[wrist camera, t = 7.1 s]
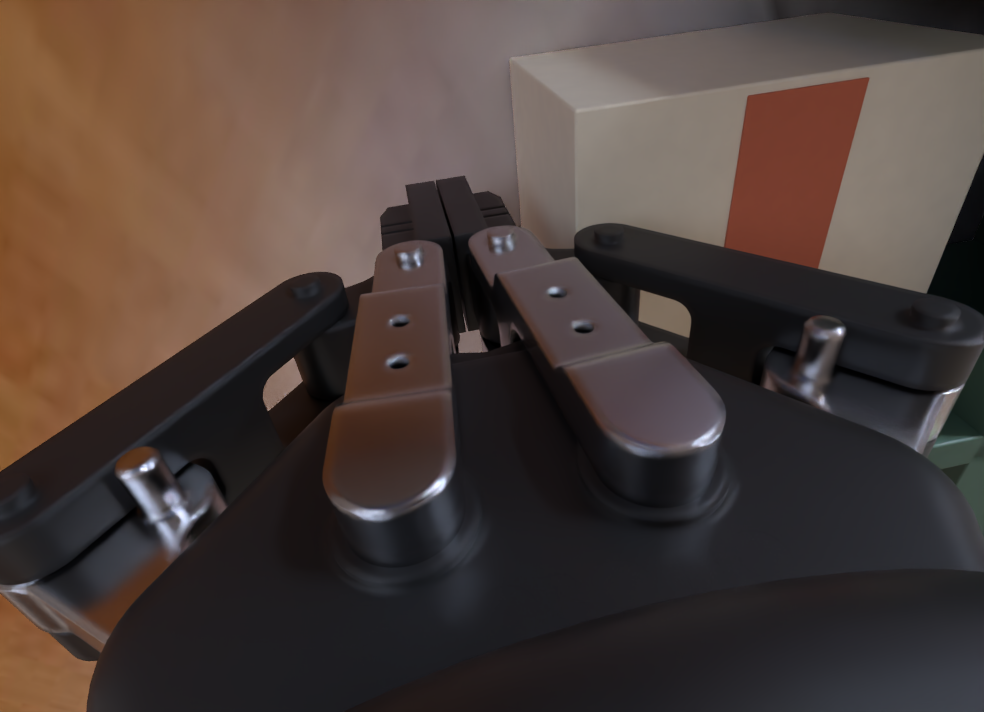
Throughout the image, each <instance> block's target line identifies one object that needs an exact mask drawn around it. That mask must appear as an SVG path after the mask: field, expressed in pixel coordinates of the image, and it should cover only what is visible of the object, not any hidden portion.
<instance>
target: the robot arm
mask: <svg viewBox="0 0 984 712" xmlns="http://www.w3.org/2000/svg"><path fill="white" fill-rule="evenodd" d="M405 186H406V191H407V196H408V202H409V204H408V205H402V206H395V207H389V208H387V210H386V211H385V212H384V213H383V214H382V215H381V217H380V222H381V234H382V235H381V236H382V250H383V251H382V252H380V253H379V254H378V256H377V258H376V262H375V271H374V276H372V277H371V278H369V279H367V280H365V281H363V282H361V283H358V284H356V285H353V286H350V287H347V288H344V285H343V281H342V279H341V277H339V276H338V275H336V274H333V273H329V272H313V273H307V274H302V275H299V276H296V277H293V278H291V279H288V280H286V281H284V282H283V283H281V284H280V285H278V286H277V287H275V288H274V289H272V290H271V291H269V292H268V293H266V294H265V295H263V296H262V297H260V298H259V299H257V300H256V301H254V302H253V303H251V304H250V305H248V306H247V307H245V308H244V309H242V310H241V311H239V312H238V313H236V314H235V315H233V316H232V317H230V318H229V319H227V320H226V321H224V322H223V323H221V324H220V325H218V326H217V327H215V328H214V329H212V330H211V331H209V332H208V333H206V334H205V335H204V336H202V337H201V338H199V339H198V340H196V341H195V342H193V343H192V344H190V345H189V346H187V347H186V348H184V349H183V350H181V351H180V352H178V353H177V354H175V355H174V356H172V357H171V358H169V359H168V360H166V361H165V362H163V363H162V364H160V365H159V366H157V367H156V368H154V369H153V370H151V371H150V372H148V373H147V374H145V375H144V376H142V377H141V378H139V379H138V380H136V381H135V382H133V383H132V384H130V385H129V386H127V387H126V388H124V389H123V390H121V391H120V392H118V393H117V394H115V395H114V396H112V397H111V398H110V399H108V400H107V401H105V402H104V403H102V404H101V405H99V406H98V407H96V408H95V409H93V410H92V411H90V412H89V413H87V414H86V415H84V416H83V417H81V418H80V419H78V420H77V421H75V422H74V423H72V424H71V425H69V426H68V427H66V428H65V429H63V430H62V431H60V432H59V433H57V434H56V435H54V436H53V437H51V438H50V439H48V440H47V441H45V442H44V443H42V444H41V445H39V446H38V447H36V448H35V449H33V450H32V451H30V452H29V453H27V454H26V455H24V456H23V457H21V458H20V459H19V460H17V461H16V462H14V463H13V464H11V465H10V466H8V467H7V468H5V469H4V470H2V471H1V472H0V594H1V595H2V596H3V597H5V598H6V599H7V600H8V601H9V602H10V603H11V604H12V605H13V606H14V607H16V608H17V609H18V610H19V611H20V612H21V613H22V614H23V615H24V616H25V617H27V618H28V619H29V620H30V621H31V622H32V623H33V624H34V625H35V626H36V627H38V628H39V629H40V630H42V631H45V632H48V633H49V634H51V635H52V636H53V637H54V638H55V639H56V640H57V641H58V642H59V643H60V644H61V645H63V646H64V647H65V648H66V649H67V650H68V651H69V652H70V653H71V654H72V655H74V656H75V657H76V658H78V659H81V660H85V661H97V664H96V667H95V670H94V673H93V676H92V679H91V683H90V688H89V694H88V700H87V712H984V537H983V535H982V532H981V529H980V527H979V524H978V521H977V519H976V516H975V513H974V511H973V509H972V508H971V506H970V504H969V503H968V501H967V500H966V498H965V496H964V495H963V493H962V492H961V491H960V490H959V489H958V487H957V486H956V485H955V484H954V482H953V481H952V480H951V479H950V478H949V477H948V476H947V475H946V474H945V473H944V472H943V471H942V470H941V469H940V468H939V467H938V466H936V465H935V464H934V463H932V462H931V461H930V460H929V459H927V458H928V456H929V454H930V452H931V450H932V448H933V446H934V444H935V442H936V440H937V438H938V436H939V434H940V432H941V430H942V428H943V426H944V424H945V422H946V420H947V418H948V416H949V414H950V413H951V411H952V409H953V407H954V405H955V403H956V401H957V399H958V397H959V395H960V393H961V391H962V389H963V387H964V385H965V383H966V381H967V379H968V377H969V375H970V373H971V371H972V369H973V368H974V366H975V364H976V362H977V360H978V358H979V356H980V354H981V352H982V350H983V348H984V316H983V315H982V314H980V313H979V312H977V311H976V310H974V309H972V308H971V307H969V306H967V305H964V304H962V303H959V302H956V301H954V300H950V299H947V298H943V297H939V296H934V295H930V294H926V293H921V292H917V291H913V290H908V289H904V288H899V287H895V286H891V285H886V284H882V283H878V282H873V281H869V280H865V279H860V278H856V277H852V276H847V275H843V274H839V273H834V272H830V271H826V270H821V269H817V268H812V267H808V266H804V265H799V264H795V263H791V262H786V261H782V260H778V259H773V258H769V257H765V256H760V255H756V254H752V253H747V252H743V251H739V250H734V249H730V248H725V247H721V246H717V245H712V244H708V243H704V242H699V241H695V240H691V239H686V238H682V237H678V236H673V235H669V234H665V233H660V232H656V231H652V230H647V229H643V228H638V227H634V226H630V225H625V224H618V223H603V224H596V225H591V226H588V227H585V228H583V229H581V230H580V231H578V232H577V233H576V234H575V236H574V249H551V248H545V247H544V246H543V245H542V244H541V242H540V241H539V240H538V239H537V238H536V236H535V235H534V234H533V233H532V232H531V231H530V230H528V229H526V228H523V227H519V226H516V224H515V222H514V221H513V219H512V217H511V215H510V214H509V212H508V210H507V208H506V207H505V204H504V203H503V201H502V199H501V197H499V196H497V195H495V194H493V193H491V192H489V191H487V192H481V193H474V194H473V193H472V191H471V189H470V187H469V184H468V182H467V180H466V178H465V176H459V177H453V178H447V179H441V180H436V186H435V182H434V181H429V182H422V183H416V184H410V185H405ZM436 187H437V189H436ZM641 290H642V291H646V292H649V293H653V294H656V295H659V296H663V297H666V298H669V299H673V300H676V301H678V302H680V303H681V304H683V305H684V306H685V307H686V309H687V310H688V312H689V313H690V316H691V327H690V335H689V338H688V337H685V336H682V335H679V334H676V333H673V332H670V331H667V330H664V329H661V328H658V327H655V326H652V325H649V324H646V323H643V322H640V321H639V306H640V291H641ZM463 314H464V316H463ZM464 317H465V321H466V324H467V328H468V331H473V330H480V335H481V343H482V350H483V352H481V353H459V348H458V344H459V341H460V335H459V333H463V332H466V330H465V323H464ZM293 357H294V359H295V361H296V364H297V367H298V369H299V372H300V375H301V377H302V380H303V382H302V383H301V384H299V385H298V386H297V387H296V388H295V389H294V390H293V391H291V392H290V393H289V394H288V395H287V396H286V397H284V398H283V399H282V400H281V401H280V402H279V403H278V404H276V405H275V406H274V407H273V408H272V409H271V410H269V411H267V409H266V406H265V404H264V401H263V389H264V386H265V384H266V382H267V380H268V379H269V377H270V376H271V375H272V374H273V373H275V372H276V371H277V370H278V369H280V368H281V367H282V366H283V365H284V364H286V363H287V362H288V361H289V360H291V359H292V358H293Z"/></svg>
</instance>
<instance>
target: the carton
mask: <svg viewBox="0 0 984 712" xmlns="http://www.w3.org/2000/svg"><path fill="white" fill-rule="evenodd" d="M509 65H510V79H511V93H512V106H513V120H514V134H515V148H516V161H517V175H518V189H519V203H520V216H521V227H523V228H526V229H528V230H530V231H531V232H532V233H533V234H534V235H535V236H536V238H537V239H538V240H539V241H540V242H541V244H542V245H543V246H544V247H545V248H551V249H574V236H575V234H576V233H577V232H578V231H580V230H581V229H583V228H585V227H588V226H591V225H596V224H603V223H618V224H625V225H630V226H634V227H638V228H643V229H647V230H652V231H656V232H660V233H665V234H669V235H673V236H678V237H682V238H686V239H691V240H695V241H699V242H704V243H708V244H712V245H717V246H721V247H725V248H730V249H734V250H739V251H743V252H747V253H752V254H756V255H760V256H765V257H769V258H773V259H778V260H782V261H786V262H791V263H795V264H799V265H804V266H808V267H812V268H817V269H821V270H826V271H830V272H834V273H839V274H843V275H847V276H852V277H856V278H860V279H865V280H869V281H873V282H878V283H882V284H886V285H891V286H895V287H899V288H904V289H908V290H913V291H917V292H921V293H927V291H928V289H929V286H930V284H931V281H932V279H933V276H934V274H935V271H936V269H937V267H938V264H939V262H940V259H941V257H942V254H943V252H944V249H945V247H946V245H947V242H948V240H949V237H950V235H951V232H952V230H953V228H954V225H955V223H956V220H957V218H958V215H959V213H960V210H961V208H962V206H963V203H964V201H965V198H966V196H967V193H968V191H969V188H970V186H971V184H972V181H973V179H974V176H975V174H976V171H977V169H978V167H979V164H980V162H981V159H982V157H983V154H984V35H980V34H973V33H966V32H959V31H952V30H945V29H938V28H931V27H925V26H918V25H911V24H904V23H897V22H890V21H883V20H877V19H870V18H863V17H856V16H849V15H842V14H835V13H829V12H828V13H821V14H814V15H807V16H800V17H793V18H786V19H779V20H772V21H765V22H757V23H750V24H743V25H736V26H729V27H722V28H715V29H708V30H701V31H694V32H687V33H680V34H673V35H666V36H659V37H652V38H645V39H638V40H631V41H624V42H617V43H610V44H603V45H595V46H588V47H581V48H574V49H567V50H560V51H553V52H546V53H539V54H532V55H525V56H518V57H511V58H510V60H509ZM639 321H640V322H643V323H646V324H649V325H652V326H655V327H658V328H661V329H664V330H667V331H670V332H673V333H676V334H679V335H682V336H685V337H688V338H689V335H690V327H691V316H690V313H689V312H688V310H687V309H686V307H685V306H684V305H683V304H681V303H680V302H678V301H676V300H673V299H669V298H666V297H663V296H659V295H656V294H653V293H649V292H646V291H642V290H641V291H640V306H639Z"/></svg>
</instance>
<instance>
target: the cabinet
mask: <svg viewBox="0 0 984 712" xmlns="http://www.w3.org/2000/svg"><path fill="white" fill-rule="evenodd" d="M926 294H930V295H934V296H939V297H943V298H947V299H950V300H954V301H956V302H959V303H962V304H964V305H967V306H969V307H971V308H972V309H974V310H976V311H977V312H979V313H980V314H982V315H983V316H984V214H983V217H982V219H981V221H980V224H979V226H978V228H977V231H976V233H975V235H974V238H973V240H969V241H964V242H958V243H953V244H947V245H946V247H945V249H944V252H943V254H942V257H941V259H940V262H939V264H938V267H937V269H936V271H935V274H934V276H933V279H932V281H931V284H930V286H929V289H928V291H927V293H926ZM927 459H929V460H930V461H931V462H932V463H934V464H935V465H936V466H938V467H939V468H940V469H941V470H942V471H943V472H944V473H945V474H946V475H947V476H948V477H949V478H950V479H951V480H952V481H953V482H954V484H955V485H956V486H957V487H958V489H959V490H960V491H961V492H962V493H963V495H964V496H965V498H966V500H967V501H968V503H969V504H970V506H971V508H972V509H973V511H974V513H975V516H976V519H977V521H978V524H979V527H980V529H981V532H982V535H983V537H984V348H983V350H982V352H981V354H980V356H979V358H978V360H977V362H976V364H975V366H974V368H973V369H972V371H971V373H970V375H969V377H968V379H967V381H966V383H965V385H964V387H963V389H962V391H961V393H960V395H959V397H958V399H957V401H956V403H955V405H954V407H953V409H952V411H951V413H950V414H949V416H948V418H947V420H946V422H945V424H944V426H943V428H942V430H941V432H940V434H939V436H938V438H937V440H936V442H935V444H934V446H933V448H932V450H931V452H930V454H929V456H928V458H927Z"/></svg>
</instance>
